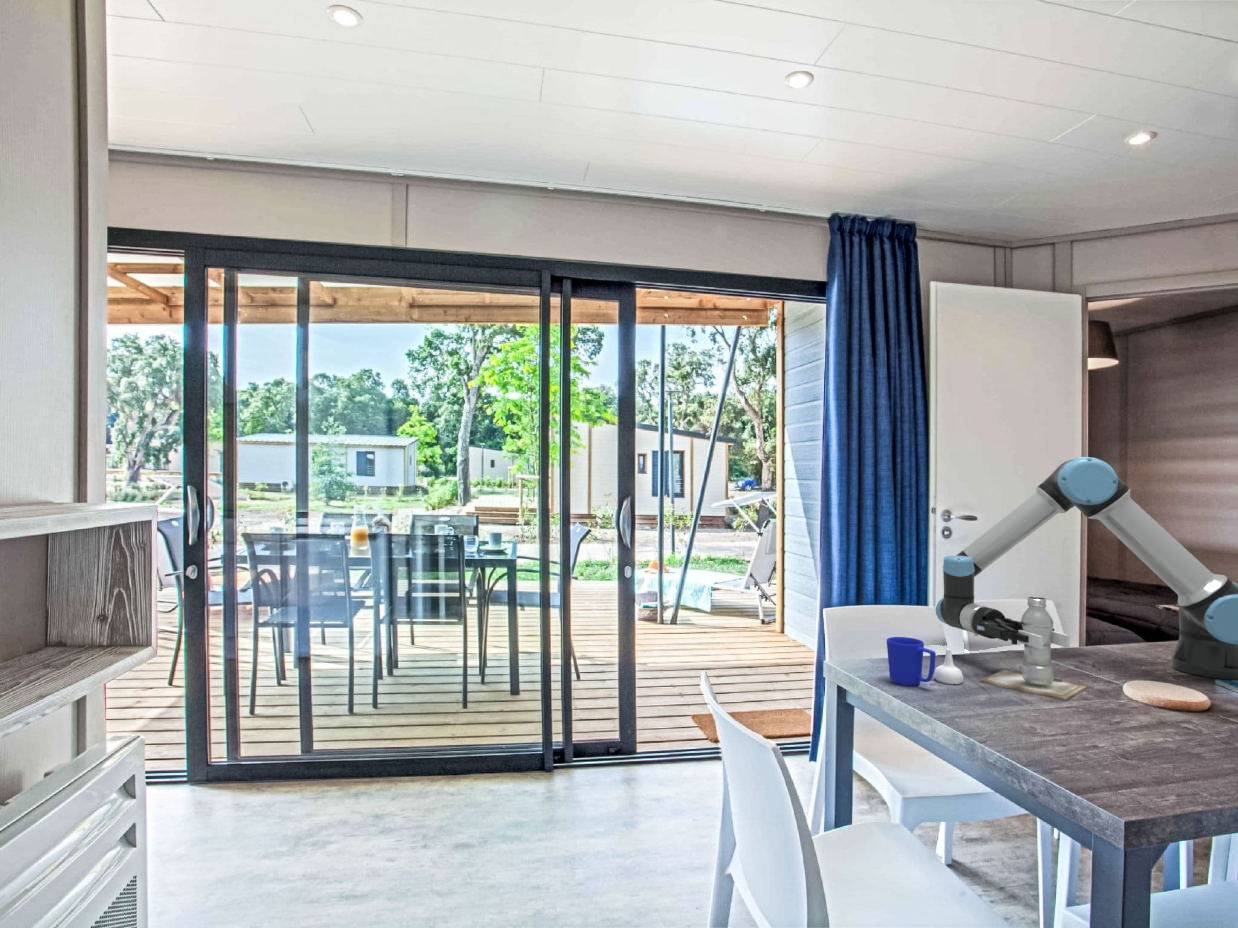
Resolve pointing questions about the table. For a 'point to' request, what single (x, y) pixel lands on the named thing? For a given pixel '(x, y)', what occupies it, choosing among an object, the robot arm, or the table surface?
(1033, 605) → the plastic bottle
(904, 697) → the table surface
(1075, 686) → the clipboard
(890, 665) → the mug
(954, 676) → the garlic bulb
